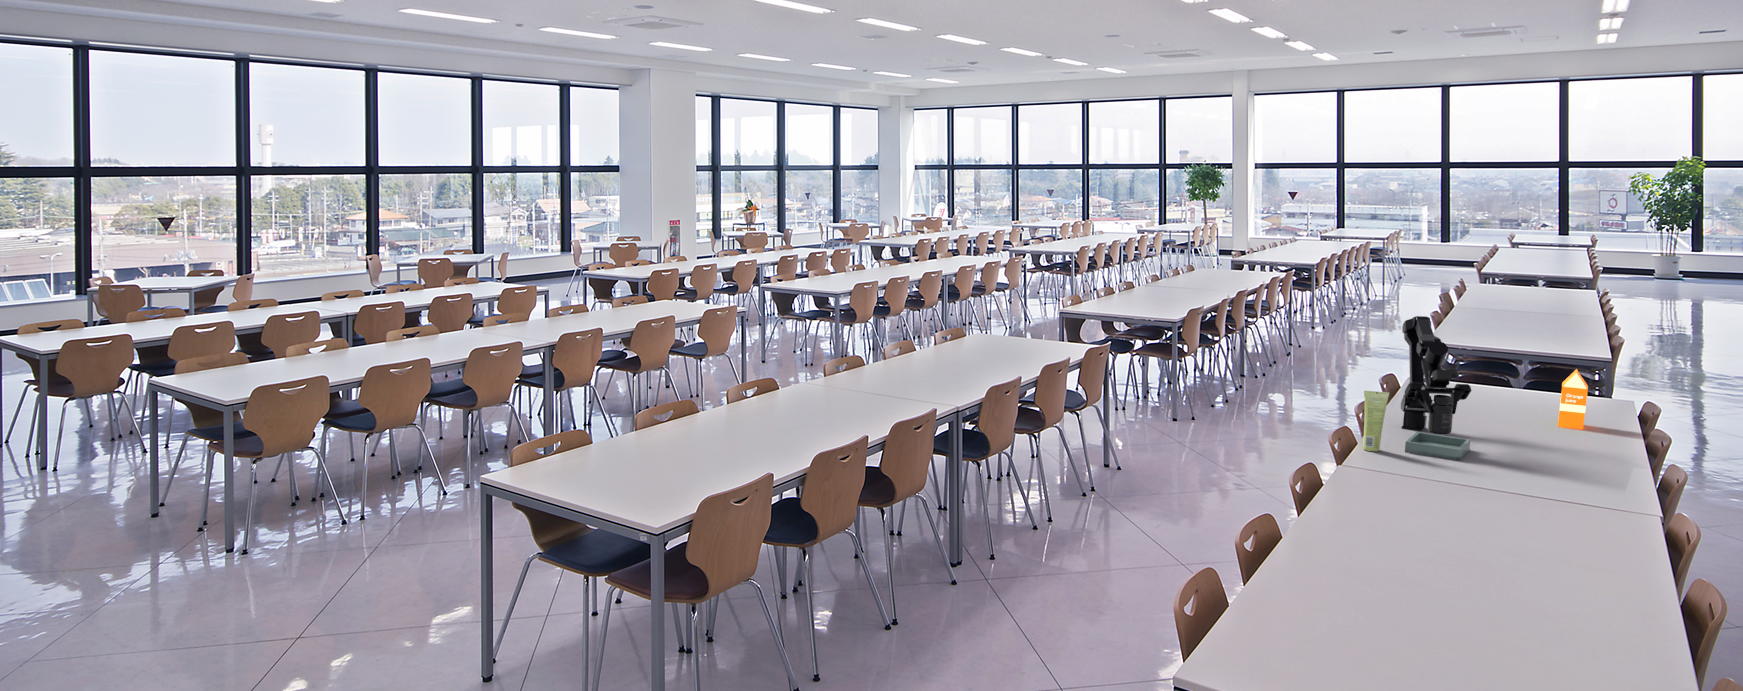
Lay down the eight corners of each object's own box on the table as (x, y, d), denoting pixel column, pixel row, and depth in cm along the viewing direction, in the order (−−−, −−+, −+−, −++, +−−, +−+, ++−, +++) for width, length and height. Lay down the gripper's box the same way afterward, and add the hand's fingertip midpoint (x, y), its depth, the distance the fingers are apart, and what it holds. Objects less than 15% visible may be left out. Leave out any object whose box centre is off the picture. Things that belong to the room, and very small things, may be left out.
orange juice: (1583, 424, 386) (1589, 369, 383) (1583, 429, 379) (1590, 373, 376) (1557, 421, 391) (1563, 367, 387) (1557, 426, 383) (1563, 371, 380)
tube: (1371, 447, 356) (1376, 388, 352) (1384, 450, 351) (1389, 392, 348) (1359, 449, 353) (1363, 390, 350) (1372, 452, 349) (1377, 393, 345)
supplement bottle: (1450, 430, 352) (1454, 394, 350) (1451, 435, 346) (1455, 399, 344) (1427, 428, 355) (1430, 392, 353) (1427, 433, 349) (1431, 397, 346)
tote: (1404, 452, 350) (1405, 441, 349) (1415, 442, 362) (1416, 431, 362) (1460, 460, 340) (1461, 449, 339) (1469, 450, 352) (1470, 439, 352)
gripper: (1410, 358, 351) (1419, 399, 342) (1472, 359, 348) (1482, 401, 340) (1400, 376, 360) (1408, 417, 352) (1460, 378, 358) (1470, 419, 349)
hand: (1442, 413), depth 348 cm, fingers closed on supplement bottle, 7 cm apart
